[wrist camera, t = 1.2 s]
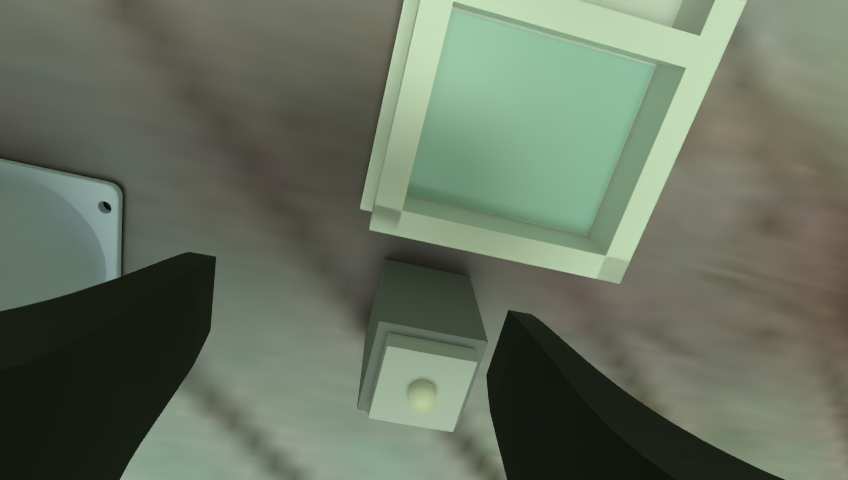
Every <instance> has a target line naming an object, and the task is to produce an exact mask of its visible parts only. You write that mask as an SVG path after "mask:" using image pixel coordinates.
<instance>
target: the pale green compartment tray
mask: <svg viewBox="0 0 848 480" xmlns="http://www.w3.org/2000/svg"><path fill="white" fill-rule="evenodd" d="M746 1H747V0H404V3H403V8H402V13H401V17H400V22H399V27H398V31H397V36H396V41H395V46H394V50H393V55H392V60H391V64H390V69H389V74H388V78H387V83H386V88H385V93H384V97H383V102H382V107H381V111H380V116H379V121H378V126H377V130H376V135H375V140H374V144H373V149H372V154H371V158H370V163H369V168H368V173H367V177H366V182H365V187H364V191H363V196H362V201H361V205H360V209H362V210H366V211H371V212H372V215H371V221H370V227H369V230H372V231H377V232H381V233H386V234H391V235H395V236H400V237H405V238H409V239H414V240H418V241H423V242H428V243H432V244H437V245H442V246H446V247H451V248H456V249H460V250H465V251H470V252H474V253H479V254H484V255H488V256H493V257H497V258H502V259H507V260H511V261H516V262H521V263H525V264H530V265H535V266H539V267H544V268H549V269H553V270H558V271H563V272H567V273H572V274H576V275H581V276H586V277H590V278H595V279H600V280H604V281H609V282H614V283H618V284H620V282H621V280H622V278H623V275H624V273H625V271H626V269H627V267H628V264H629V262H630V260H631V258H632V255H633V253H634V251H635V249H636V247H637V244H638V242H639V240H640V238H641V235H642V233H643V231H644V229H645V226H646V224H647V222H648V220H649V218H650V215H651V213H652V211H653V209H654V206H655V204H656V202H657V200H658V198H659V195H660V193H661V191H662V189H663V186H664V184H665V182H666V180H667V177H668V175H669V173H670V171H671V169H672V166H673V164H674V162H675V160H676V157H677V155H678V153H679V151H680V149H681V146H682V144H683V142H684V140H685V137H686V135H687V133H688V131H689V128H690V126H691V124H692V122H693V120H694V117H695V115H696V113H697V111H698V108H699V106H700V104H701V102H702V99H703V97H704V95H705V93H706V91H707V88H708V86H709V84H710V82H711V79H712V77H713V75H714V73H715V71H716V68H717V66H718V64H719V62H720V59H721V57H722V55H723V53H724V50H725V48H726V46H727V44H728V42H729V39H730V37H731V35H732V33H733V30H734V28H735V26H736V24H737V22H738V19H739V17H740V15H741V13H742V10H743V8H744V6H745V4H746Z"/></svg>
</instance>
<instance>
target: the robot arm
mask: <svg viewBox="0 0 848 480" xmlns="http://www.w3.org/2000/svg"><path fill="white" fill-rule="evenodd" d="M104 201H105V202H107V203H109V204H110V205H111V208H112V210H108V209H106V208H105V207H104V204H103V202H104ZM121 241H122V191H121V190H120V188H119V187H118V186H117V185H116V184H114V183H111V182H108V181H104V180H99V179H94V178H90V177H85V176H80V175H75V174H71V173H66V172H61V171H57V170H52V169H47V168H43V167H38V166H33V165H29V164H24V163H19V162H15V161H10V160H5V159H0V480H120V478H121V476H122V474H123V472H124V470H125V469H126V467H127V465H128V463H129V461H130V460H131V458H132V456H133V455H134V453H135V452H136V450H137V448H138V447H139V445H140V443H141V442H142V441H143V439H144V438H145V436H146V435H147V433H148V432H149V430H150V429H151V427H152V426H153V424H154V423H155V421H156V420H157V418H158V417H159V416H160V414H161V413H162V411H163V410H164V408H165V407H166V405H167V404H168V402H169V401H170V399H171V398H172V396H173V395H174V394H175V392H176V391H177V389H178V388H179V386H180V385H181V383H182V382H183V380H184V379H185V377H186V376H187V374H188V373H189V371H190V370H191V368H192V366H193V365H194V363H195V361H196V359H197V357H198V355H199V353H200V351H201V349H202V347H203V345H204V343H205V341H206V338H207V336H208V334H209V332H210V328H211V315H212V302H213V289H214V276H215V263H216V257H214V256H209V255H203V254H198V253H192V252H187V253H183V254H180V255H177V256H174V257H171V258H169V259H166V260H163V261H161V262H158V263H156V264H153V265H150V266H148V267H145V268H142V269H140V270H137V271H135V272H132V273H129V274H127V275H124V276H121ZM486 376H487V388H488V398H489V406H490V413H491V417H492V421H493V425H494V429H495V434H496V438H497V442H498V446H499V449H500V453H501V457H502V461H503V465H504V469H505V473H506V477H507V480H784V479H782V478H779V477H777V476H775V475H772V474H770V473H767V472H765V471H763V470H761V469H759V468H756V467H754V466H752V465H750V464H748V463H746V462H744V461H742V460H740V459H738V458H736V457H734V456H732V455H730V454H728V453H726V452H724V451H722V450H720V449H718V448H716V447H714V446H712V445H710V444H709V443H707V442H705V441H703V440H701V439H699V438H698V437H696V436H694V435H692V434H691V433H689V432H687V431H686V430H684V429H682V428H680V427H679V426H677V425H675V424H673V423H672V422H670V421H669V420H667V419H665V418H664V417H662V416H661V415H659V414H657V413H656V412H654V411H653V410H651V409H650V408H648V407H647V406H645V405H644V404H643V403H641V402H640V401H638V400H637V399H635V398H634V397H632V396H631V395H629V394H628V393H627V392H625V391H624V390H623V389H621V388H620V387H619V386H617V385H616V384H615V383H613V382H612V381H611V380H610V379H608V378H607V377H606V376H605V375H603V374H602V373H601V372H599V371H598V370H597V369H596V368H595V367H593V366H592V365H591V364H590V363H589V362H587V361H586V360H585V359H584V358H583V357H582V356H580V355H579V354H578V353H577V352H576V351H575V350H574V349H572V348H571V347H570V346H569V345H568V344H567V343H566V342H564V341H563V340H562V339H561V338H560V337H559V336H558V335H557V334H555V333H554V332H553V331H552V330H551V329H550V328H549V327H547V326H546V325H545V324H544V323H543V322H541V321H540V320H539V319H538V318H536V317H535V316H533V315H532V314H527V313H522V312H516V311H511V310H508V313H507V316H506V319H505V322H504V325H503V328H502V331H501V334H500V337H499V340H498V343H497V346H496V349H495V352H494V354H493V357H492V360H491V363H490V366H489V369H488V372H487V375H486Z"/></svg>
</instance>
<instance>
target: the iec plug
mask: <svg viewBox="0 0 848 480" xmlns="http://www.w3.org/2000/svg"><path fill="white" fill-rule="evenodd" d="M487 343H488V340H487V337H486V333H485V330H484V326H483V323H482V319H481V316H480V312H479V309H478V305H477V301H476V298H475V294H474V291H473V287H472V284H471V280H470V277H469V276H464V275H460V274H455V273H450V272H445V271H440V270H436V269H431V268H426V267H421V266H416V265H412V264H407V263H402V262H397V261H393V260H388V259H384V261H383V265H382V269H381V273H380V277H379V282H378V286H377V290H376V294H375V298H374V302H373V306H372V310H371V314H370V319H369V323H368V327H367V331H366V337H365V346H364V354H363V363H362V371H361V379H360V388H359V396H358V405H357V409H358V410H364V411H369V414H368V418H370V419H376V420H382V421H388V422H394V423H401V424H407V425H413V426H419V427H425V428H431V429H437V430H443V431H449V432H453V430H454V428H455V426H458V425H459V422H460V419H461V416H462V413H463V411H464V408H465V405H466V402H467V399H468V397H469V394H470V391H471V388H472V385H473V383H474V380H475V377H476V374H477V371H478V369H479V366H480V363H481V360H482V357H483V354H484V352H485V349H486V346H487Z"/></svg>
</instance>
